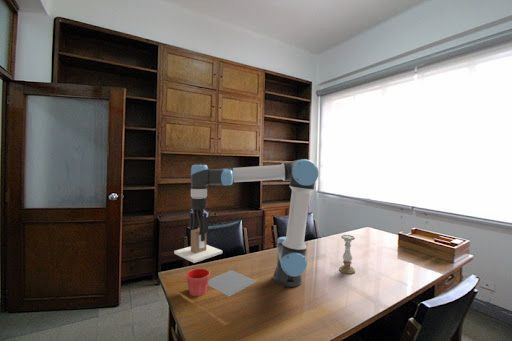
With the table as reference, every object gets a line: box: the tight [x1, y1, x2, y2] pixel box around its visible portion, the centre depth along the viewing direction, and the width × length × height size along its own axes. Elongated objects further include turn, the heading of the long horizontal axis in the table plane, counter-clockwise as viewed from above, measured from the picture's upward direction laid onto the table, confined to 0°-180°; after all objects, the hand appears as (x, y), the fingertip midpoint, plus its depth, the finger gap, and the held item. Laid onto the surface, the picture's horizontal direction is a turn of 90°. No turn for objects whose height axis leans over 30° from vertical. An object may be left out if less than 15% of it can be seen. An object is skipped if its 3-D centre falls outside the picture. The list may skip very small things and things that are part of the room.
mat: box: [208, 269, 258, 297], centre depth 127 cm, size 20×20×1 cm
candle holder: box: [338, 234, 356, 275], centre depth 144 cm, size 9×9×20 cm
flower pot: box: [186, 268, 211, 297], centre depth 117 cm, size 11×11×10 cm
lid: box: [173, 227, 223, 264], centre depth 116 cm, size 16×16×11 cm
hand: (198, 246), depth 116 cm, fingers closed on lid, 4 cm apart
